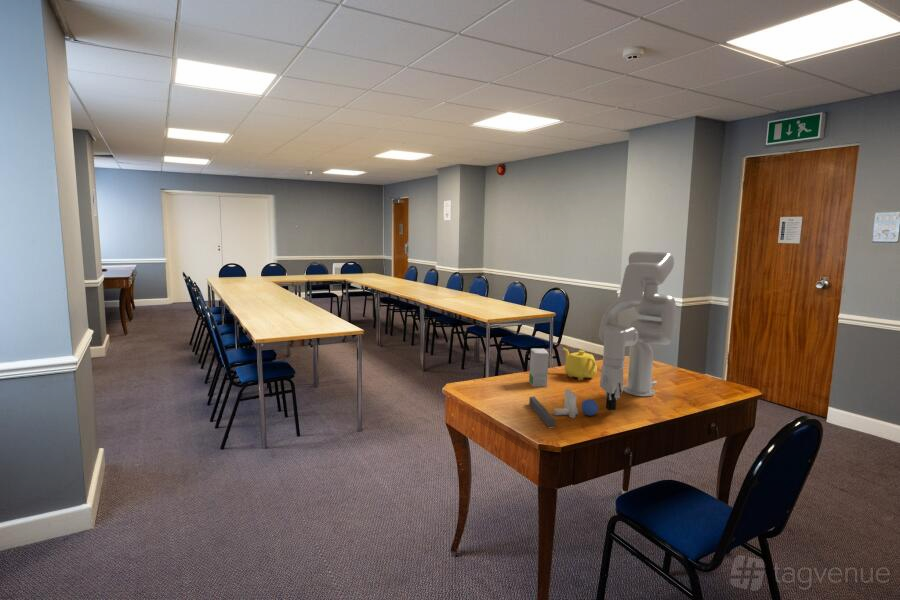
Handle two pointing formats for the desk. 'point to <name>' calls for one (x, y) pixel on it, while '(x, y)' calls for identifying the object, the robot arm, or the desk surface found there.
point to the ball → (589, 407)
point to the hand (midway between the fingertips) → (610, 409)
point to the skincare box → (538, 367)
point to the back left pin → (572, 405)
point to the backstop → (542, 412)
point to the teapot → (580, 364)
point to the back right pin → (567, 398)
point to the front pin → (563, 411)
